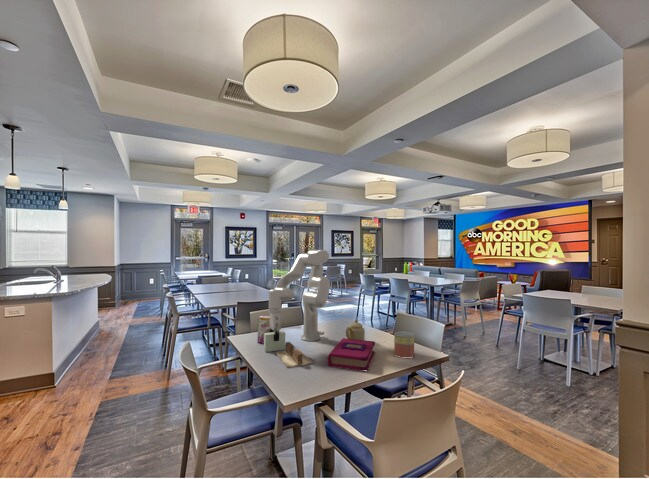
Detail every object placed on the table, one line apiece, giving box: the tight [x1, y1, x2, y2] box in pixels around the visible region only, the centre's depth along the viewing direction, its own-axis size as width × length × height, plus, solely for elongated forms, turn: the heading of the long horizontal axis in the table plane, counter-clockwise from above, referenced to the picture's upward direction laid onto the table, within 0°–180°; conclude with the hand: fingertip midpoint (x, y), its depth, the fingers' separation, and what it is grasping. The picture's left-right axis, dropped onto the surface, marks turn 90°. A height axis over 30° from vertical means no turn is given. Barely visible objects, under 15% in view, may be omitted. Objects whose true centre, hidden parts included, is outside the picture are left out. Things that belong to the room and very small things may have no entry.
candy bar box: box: [257, 315, 276, 344], centre depth 194 cm, size 11×5×16 cm, turn 84°
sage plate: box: [263, 330, 286, 353], centre depth 181 cm, size 12×4×10 cm, turn 114°
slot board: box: [275, 341, 314, 369], centre depth 167 cm, size 14×22×6 cm, turn 24°
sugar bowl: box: [345, 318, 366, 341], centre depth 196 cm, size 15×11×15 cm
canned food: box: [393, 330, 415, 358], centre depth 174 cm, size 11×11×12 cm
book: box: [327, 337, 376, 371], centre depth 167 cm, size 21×28×8 cm
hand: (274, 338), depth 180 cm, fingers open, 9 cm apart
